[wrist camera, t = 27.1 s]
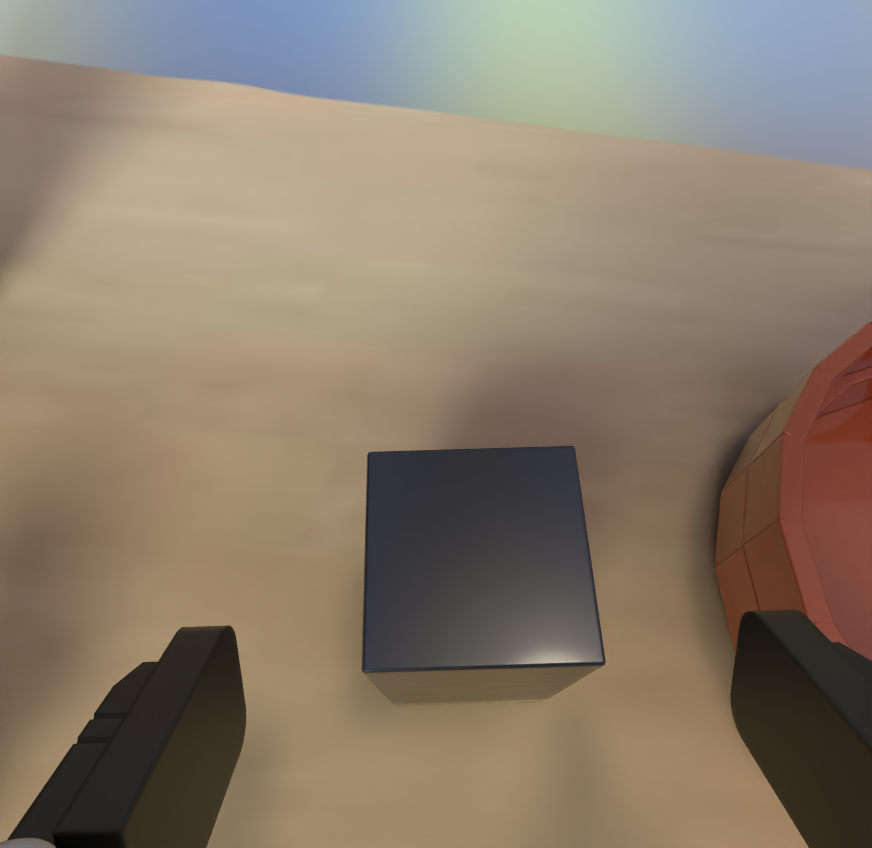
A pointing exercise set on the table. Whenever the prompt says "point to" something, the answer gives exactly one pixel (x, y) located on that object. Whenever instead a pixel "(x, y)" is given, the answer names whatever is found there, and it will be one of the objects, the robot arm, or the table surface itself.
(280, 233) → the table surface
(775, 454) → the bowl
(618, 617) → the table surface
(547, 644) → the eraser
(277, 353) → the table surface
